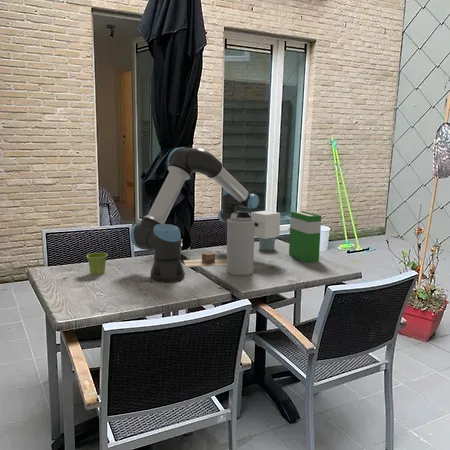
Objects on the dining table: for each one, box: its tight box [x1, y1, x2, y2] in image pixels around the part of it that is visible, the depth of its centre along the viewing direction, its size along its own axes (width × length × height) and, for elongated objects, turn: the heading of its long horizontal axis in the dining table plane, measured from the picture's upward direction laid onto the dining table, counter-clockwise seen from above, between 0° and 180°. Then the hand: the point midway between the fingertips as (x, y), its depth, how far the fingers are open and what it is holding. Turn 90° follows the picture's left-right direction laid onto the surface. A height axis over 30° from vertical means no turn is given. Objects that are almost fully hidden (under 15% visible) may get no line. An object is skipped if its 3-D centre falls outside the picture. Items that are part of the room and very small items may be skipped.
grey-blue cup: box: [258, 237, 276, 251], centre depth 261 cm, size 10×10×12 cm
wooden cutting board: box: [182, 258, 227, 268], centre depth 227 cm, size 13×24×1 cm, turn 101°
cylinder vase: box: [226, 218, 255, 277], centre depth 210 cm, size 12×12×25 cm
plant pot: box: [85, 252, 108, 276], centre depth 206 cm, size 9×9×9 cm
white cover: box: [250, 210, 281, 239], centre depth 230 cm, size 10×10×12 cm
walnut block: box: [201, 251, 216, 264], centre depth 227 cm, size 5×5×5 cm
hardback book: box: [288, 210, 322, 263], centre depth 240 cm, size 18×7×24 cm, turn 23°
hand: (271, 224), depth 226 cm, fingers closed on white cover, 10 cm apart
